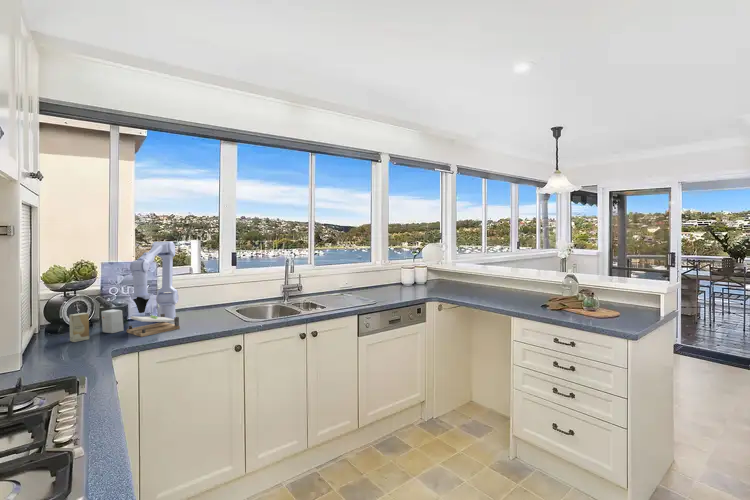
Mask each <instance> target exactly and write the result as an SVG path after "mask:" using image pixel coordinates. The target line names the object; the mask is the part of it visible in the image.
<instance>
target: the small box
mask: <svg viewBox="0 0 750 500" xmlns="http://www.w3.org/2000/svg"><path fill="white" fill-rule="evenodd" d="M100 314H101V326H102V327H101V328H102V333H108V334H115V333H119V332H123V331H124V317H123V315H124V314H123V310H121V309H112V308H111V309H107V310H101V313H100Z"/></svg>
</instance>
